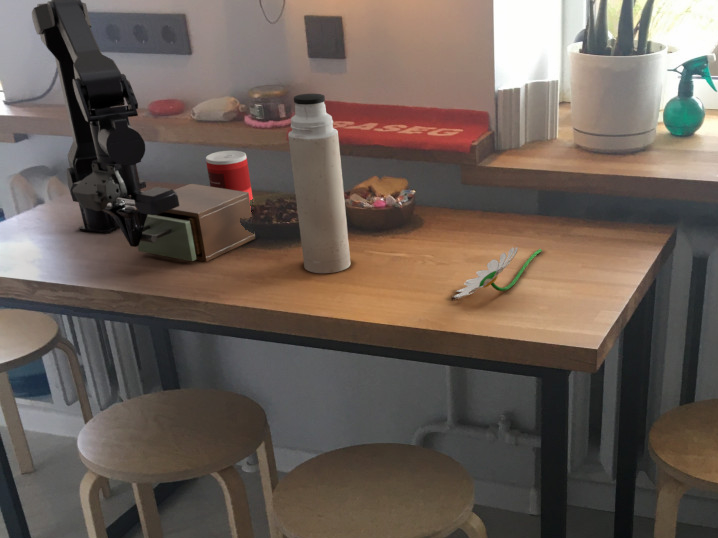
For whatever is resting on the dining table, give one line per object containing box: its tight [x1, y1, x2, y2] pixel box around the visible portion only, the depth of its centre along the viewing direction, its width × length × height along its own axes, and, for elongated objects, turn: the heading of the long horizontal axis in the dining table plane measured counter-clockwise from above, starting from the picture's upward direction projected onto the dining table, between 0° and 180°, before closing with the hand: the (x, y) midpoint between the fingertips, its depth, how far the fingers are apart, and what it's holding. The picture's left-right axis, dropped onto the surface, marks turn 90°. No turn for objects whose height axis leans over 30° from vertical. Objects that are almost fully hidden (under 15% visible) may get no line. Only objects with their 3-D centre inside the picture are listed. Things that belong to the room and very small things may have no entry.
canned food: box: [205, 150, 254, 200], centre depth 199 cm, size 8×8×11 cm
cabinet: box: [166, 183, 256, 263], centre depth 183 cm, size 14×14×9 cm
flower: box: [452, 246, 542, 302], centre depth 167 cm, size 13×6×30 cm
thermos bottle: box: [288, 93, 351, 274], centre depth 168 cm, size 8×8×28 cm
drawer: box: [137, 212, 202, 262], centre depth 179 cm, size 18×12×7 cm
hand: (134, 246), depth 171 cm, fingers closed, pressing on drawer
